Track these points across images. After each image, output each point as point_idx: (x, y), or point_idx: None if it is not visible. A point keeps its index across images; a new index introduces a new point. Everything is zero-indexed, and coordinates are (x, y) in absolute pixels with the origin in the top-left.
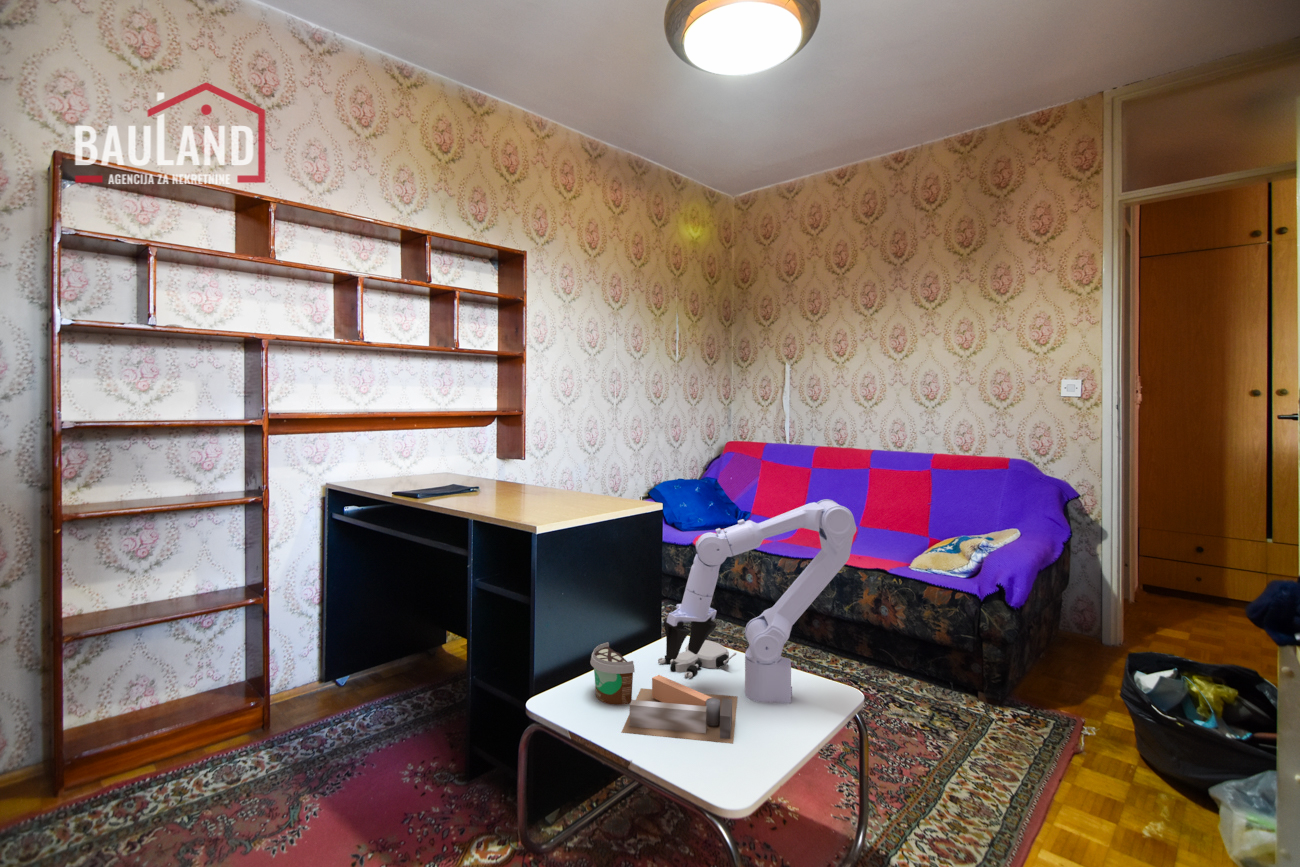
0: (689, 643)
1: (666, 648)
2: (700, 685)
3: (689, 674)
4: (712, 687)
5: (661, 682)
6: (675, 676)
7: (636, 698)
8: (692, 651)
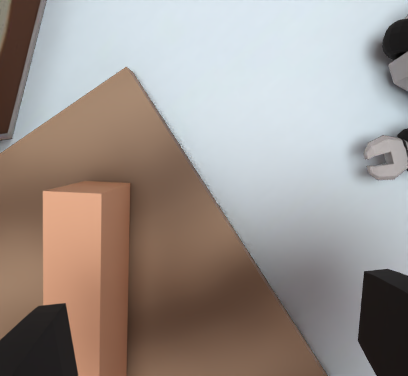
0: (402, 298)
1: (2, 339)
2: (385, 213)
3: (378, 172)
4: (404, 265)
5: (44, 266)
6: (386, 61)
7: (40, 126)
8: (364, 315)
